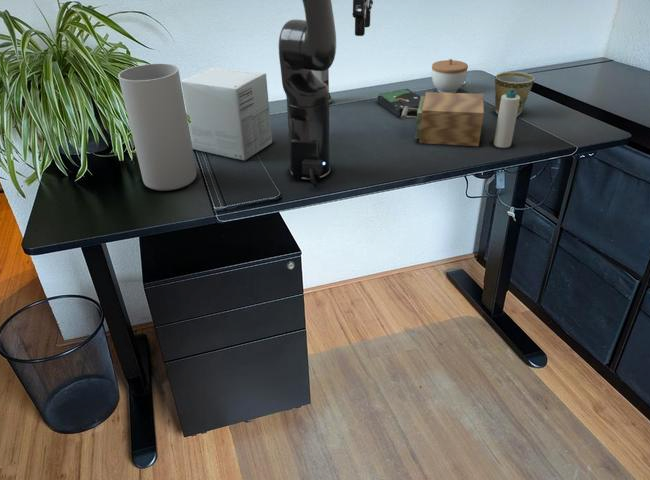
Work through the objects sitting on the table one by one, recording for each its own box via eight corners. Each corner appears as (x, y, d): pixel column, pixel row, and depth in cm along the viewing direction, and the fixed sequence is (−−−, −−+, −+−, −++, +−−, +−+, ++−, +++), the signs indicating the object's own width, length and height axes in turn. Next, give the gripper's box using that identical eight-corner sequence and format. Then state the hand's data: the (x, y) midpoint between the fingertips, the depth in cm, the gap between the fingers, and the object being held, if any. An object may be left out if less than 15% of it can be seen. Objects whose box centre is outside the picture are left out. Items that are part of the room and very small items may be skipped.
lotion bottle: (511, 148, 134) (522, 92, 126) (493, 147, 135) (503, 91, 127) (510, 141, 138) (521, 86, 130) (493, 140, 139) (502, 86, 131)
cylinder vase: (199, 167, 134) (182, 62, 119) (193, 190, 124) (173, 79, 109) (149, 170, 134) (125, 65, 119) (138, 193, 124) (111, 82, 109)
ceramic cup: (519, 122, 148) (527, 84, 142) (484, 115, 153) (489, 79, 147) (535, 107, 156) (543, 71, 150) (501, 101, 161) (507, 67, 155)
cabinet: (419, 143, 140) (422, 110, 134) (423, 123, 150) (426, 91, 145) (478, 146, 136) (483, 112, 131) (478, 125, 147) (483, 93, 142)
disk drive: (431, 112, 157) (407, 97, 168) (432, 103, 155) (407, 87, 167) (399, 118, 154) (376, 102, 166) (400, 108, 153) (377, 92, 164)
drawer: (398, 137, 141) (400, 112, 137) (403, 119, 151) (405, 95, 147) (469, 141, 137) (473, 115, 133) (469, 122, 147) (473, 97, 143)
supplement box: (273, 142, 144) (268, 72, 134) (245, 162, 135) (236, 88, 125) (221, 132, 152) (212, 65, 141) (191, 150, 143) (179, 80, 132)
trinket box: (427, 94, 169) (430, 63, 163) (431, 84, 177) (434, 54, 172) (463, 96, 166) (467, 64, 161) (465, 85, 174) (469, 55, 169)
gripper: (353, -51, 127) (352, 24, 137) (341, -43, 116) (341, 38, 125) (385, -51, 125) (382, 24, 135) (376, -43, 114) (374, 38, 124)
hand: (362, 31), depth 130 cm, fingers open, 8 cm apart
